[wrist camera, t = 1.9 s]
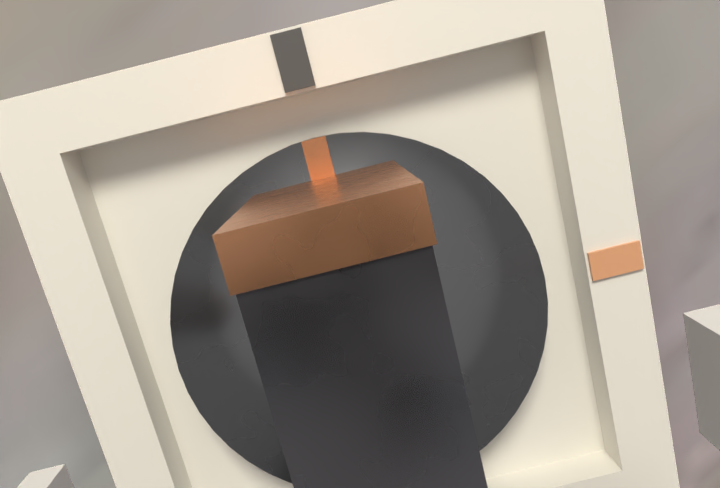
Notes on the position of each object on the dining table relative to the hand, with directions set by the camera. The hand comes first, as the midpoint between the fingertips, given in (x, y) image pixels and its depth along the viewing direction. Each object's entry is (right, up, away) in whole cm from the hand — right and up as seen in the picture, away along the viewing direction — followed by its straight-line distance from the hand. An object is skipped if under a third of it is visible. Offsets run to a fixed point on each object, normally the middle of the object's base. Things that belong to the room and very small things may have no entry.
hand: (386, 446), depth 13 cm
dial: (-1, +2, +10) cm, 10 cm away
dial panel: (-1, +2, +11) cm, 11 cm away
